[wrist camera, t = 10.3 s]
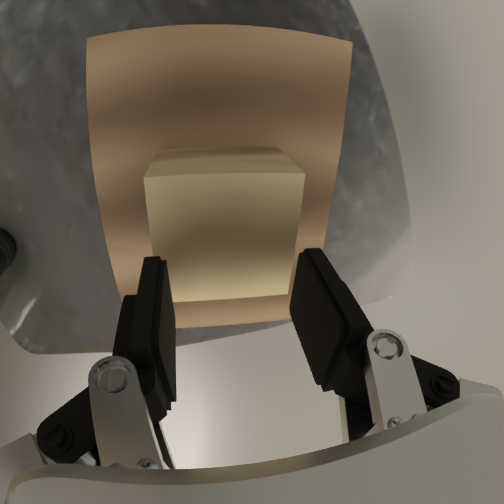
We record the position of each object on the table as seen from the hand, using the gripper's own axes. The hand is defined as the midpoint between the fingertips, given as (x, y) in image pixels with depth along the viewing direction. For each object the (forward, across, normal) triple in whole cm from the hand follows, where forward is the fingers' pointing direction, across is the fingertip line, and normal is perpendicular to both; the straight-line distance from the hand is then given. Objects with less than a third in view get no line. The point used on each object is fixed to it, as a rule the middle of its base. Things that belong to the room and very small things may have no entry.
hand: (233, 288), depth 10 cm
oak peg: (+13, 0, 0) cm, 13 cm away
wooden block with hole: (+13, 0, 0) cm, 13 cm away
